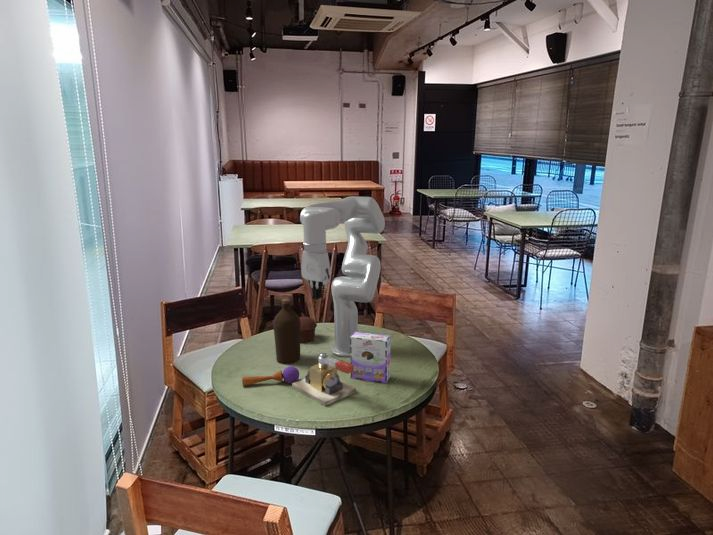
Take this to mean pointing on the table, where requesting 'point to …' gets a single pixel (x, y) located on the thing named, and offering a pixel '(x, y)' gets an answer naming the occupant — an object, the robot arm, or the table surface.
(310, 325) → the muffin
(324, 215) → the robot arm
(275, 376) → the kendama
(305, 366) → the table surface
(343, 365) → the lever
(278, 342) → the olive oil
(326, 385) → the pipe and valve body
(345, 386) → the mounting board
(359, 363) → the candy box
